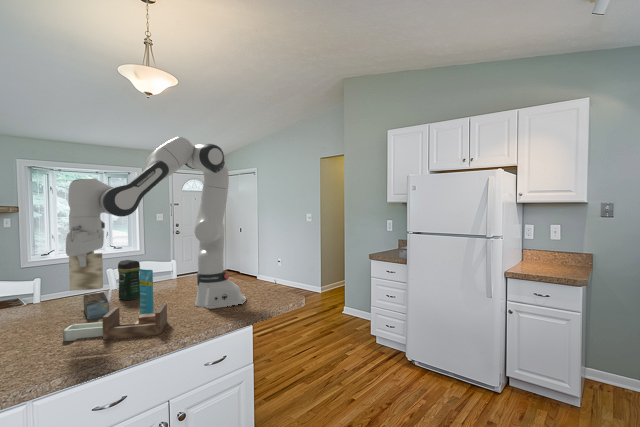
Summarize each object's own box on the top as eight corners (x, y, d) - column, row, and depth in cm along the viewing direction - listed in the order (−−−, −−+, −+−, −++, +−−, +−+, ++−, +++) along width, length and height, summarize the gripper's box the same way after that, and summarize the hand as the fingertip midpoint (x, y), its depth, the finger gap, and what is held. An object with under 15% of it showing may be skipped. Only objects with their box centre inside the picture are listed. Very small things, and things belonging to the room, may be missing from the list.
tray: (111, 330, 118) (111, 321, 118) (105, 337, 112) (104, 327, 112) (71, 334, 115) (71, 324, 115) (63, 341, 109) (62, 330, 109)
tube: (135, 317, 132) (133, 269, 132) (144, 313, 137) (143, 267, 136) (149, 319, 130) (148, 270, 129) (159, 315, 135) (158, 268, 134)
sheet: (103, 287, 116) (102, 253, 115) (100, 288, 113) (99, 254, 113) (73, 288, 113) (72, 254, 113) (69, 290, 111) (68, 255, 111)
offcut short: (157, 318, 122) (157, 312, 122) (155, 322, 119) (155, 315, 119) (140, 320, 121) (140, 314, 121) (138, 323, 117) (138, 317, 117)
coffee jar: (143, 297, 161) (142, 259, 160) (127, 301, 154) (126, 262, 153) (132, 295, 165) (131, 258, 165) (115, 299, 158) (114, 260, 158)
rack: (167, 324, 124) (166, 303, 124) (160, 335, 113) (160, 312, 113) (115, 328, 120) (114, 307, 120) (103, 341, 109) (102, 317, 109)
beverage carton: (86, 320, 130) (85, 304, 130) (83, 308, 145) (82, 293, 145) (109, 316, 135) (109, 300, 134) (104, 305, 150) (104, 290, 150)
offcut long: (158, 324, 122) (158, 318, 122) (156, 328, 119) (155, 322, 119) (137, 326, 121) (137, 320, 121) (134, 330, 117) (134, 324, 117)
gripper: (82, 226, 103) (83, 270, 104) (106, 223, 123) (107, 260, 124) (58, 227, 102) (60, 271, 102) (87, 223, 122) (88, 261, 122)
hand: (86, 265), depth 113 cm, fingers closed on sheet, 2 cm apart
